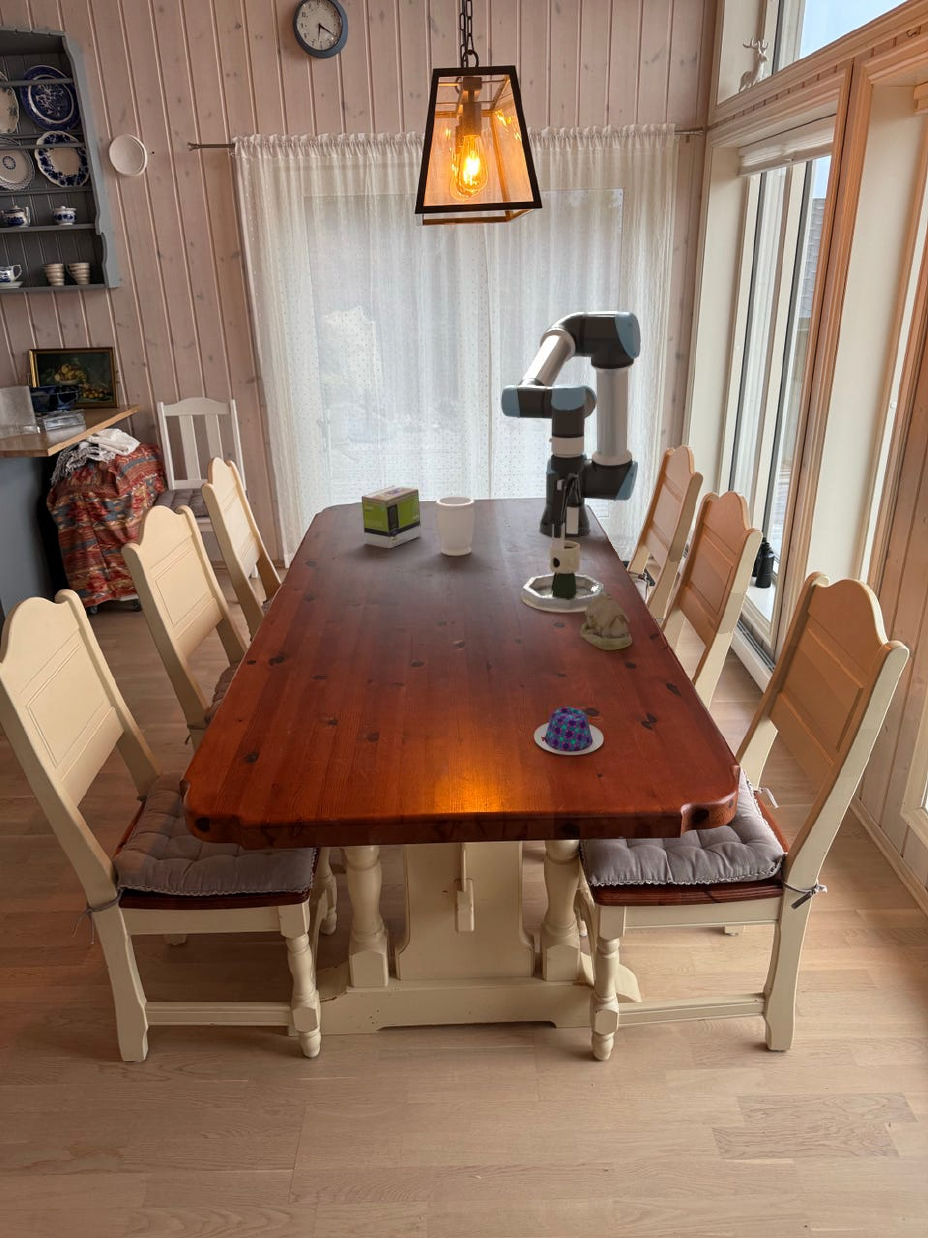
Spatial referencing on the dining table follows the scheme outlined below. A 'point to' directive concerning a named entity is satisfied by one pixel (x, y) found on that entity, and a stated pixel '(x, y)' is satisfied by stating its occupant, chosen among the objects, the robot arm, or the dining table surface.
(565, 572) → the character mug
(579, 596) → the octagonal bowl
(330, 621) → the dining table surface
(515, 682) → the dining table surface
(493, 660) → the dining table surface
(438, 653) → the dining table surface
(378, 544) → the tea box
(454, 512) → the jar
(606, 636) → the ceramic model
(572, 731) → the pudding
